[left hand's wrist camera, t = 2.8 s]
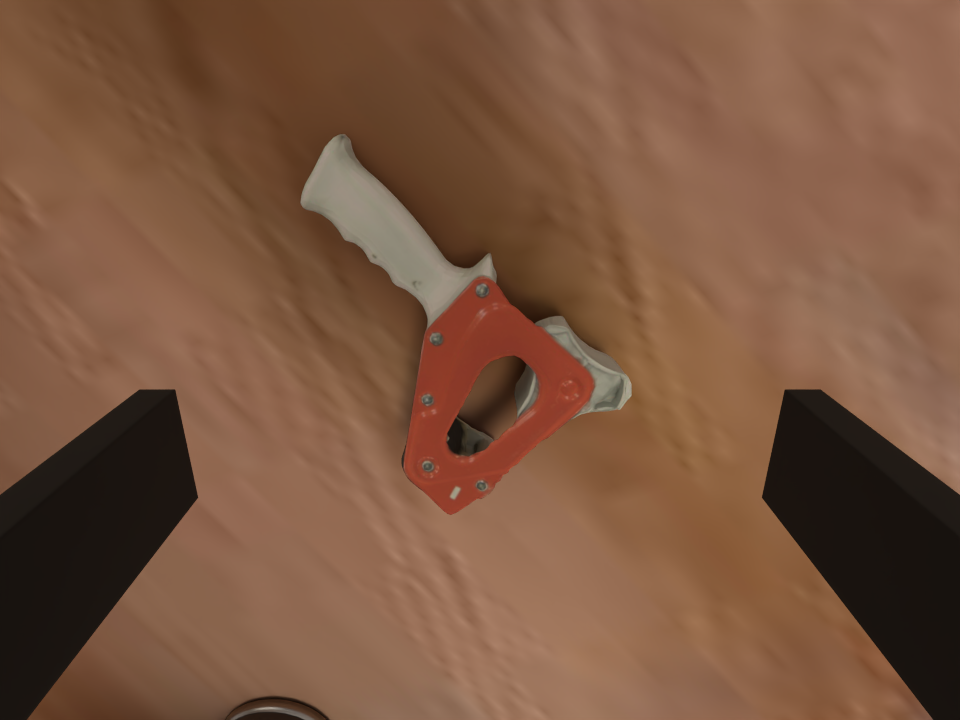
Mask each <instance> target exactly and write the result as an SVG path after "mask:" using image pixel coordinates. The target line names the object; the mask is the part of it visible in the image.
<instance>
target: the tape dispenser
mask: <svg viewBox="0 0 960 720" xmlns="http://www.w3.org/2000/svg"><path fill="white" fill-rule="evenodd" d="M301 205H302V207H303V208H304V209H306V210H311V211H314V212H316V213H319V214H322V215H323V216H324V217H326V218H327V219H328V220H330V221H331V222H332V223H333V224H334V225H335V227H336V228H337V229H338V230H339V232H340V233H341V235H342V237H343V238H344V239H345V241H349V242H353V243H355V244H356V245H358V246H359V247H360V248H362V250H363V251H364V252H365V253H366V255H367V257H368V259H369V261H370V262H371V263H374V264H376V265H379V266H381V267H382V268H384V270H385V271H386V272H387V273H388V274H389V276H390V278H391V280H392V282H393V283H394V284H395V285H396V286H398V287H401V288H403V289H405V290H407V291H408V292H409V293H411V294H412V295H413V296H415V297H416V298H417V299H418V300H419V302H420V303H421V304H422V305H423V307H424V310H425V312H426V314H427V319H428V323H427V330H426V332H425V334H424V339H423V345H422V351H421V357H420V363H419V370H418V376H417V383H416V389H415V395H414V400H413V408H412V415H411V422H410V427H409V432H408V437H407V443H406V446H405V449H404V452H403V456H402V467H403V470H404V472H405V474H406V476H407V478H408V479H409V480H410V481H411V482H412V483H413V484H415V485H416V486H417V487H418V488H419V489H421V490H422V491H424V492H425V493H426V494H427V495H428V496H429V497H430V498H431V499H432V500H433V501H434V502H435V503H436V504H437V505H438V506H439V507H440V508H441V509H442V510H443V511H445V512H446V513H447V514H450V515H451V514H454V513H456V512H458V511H460V510H461V509H463V508H464V507H466V506H467V505H469V504H470V503H472V502H473V501H474V500H476V499H477V498H478V499H482V498H484V497H486V496H488V495H489V494H490V493H491V491H492V490H493V489H494V487H495V484H496V483H497V482H499V481H500V480H501V478H502V476H503V475H504V474H506V473H508V471H509V469H510V468H512V467H513V466H514V465H516V464H518V463H519V461H520V460H521V459H522V458H523V457H524V456H525V455H526V454H527V453H528V452H529V451H530V450H532V449H533V448H534V447H536V445H537V444H538V443H539V442H541V441H542V440H544V439H546V438H548V437H549V436H551V435H552V434H553V433H554V432H555V431H557V430H558V429H559V428H560V427H561V426H563V425H564V424H566V423H567V422H568V421H570V420H571V419H573V418H575V417H577V416H579V415H580V414H585V413H589V412H597V411H612V410H616V409H619V410H620V409H621V408H622V406H623V405H624V404H625V402H626V401H627V400H628V399H629V398H630V397H631V382H630V380H629V378H628V376H627V375H626V374H625V373H624V372H623V371H622V369H621V368H620V366H619V365H618V364H617V363H616V361H615V360H614V359H613V358H612V357H610V356H609V355H607V354H605V353H603V352H600V351H597V350H595V349H593V348H592V347H590V346H588V345H587V344H586V343H584V342H583V341H582V340H580V339H579V338H578V337H577V335H576V334H575V333H574V332H573V331H572V329H571V328H570V327H569V325H568V324H567V322H566V320H565V319H564V317H562V316H554V317H548V318H545V319H543V320H540V321H538V322H536V323H533V322H532V321H531V320H529V319H528V318H526V317H525V316H524V315H523V314H522V313H521V312H520V311H519V310H518V309H517V308H516V307H514V306H513V305H511V304H510V303H509V301H508V300H507V298H506V297H505V295H504V294H503V292H502V291H501V289H500V288H499V287H498V285H497V284H496V278H497V274H496V271H495V269H494V267H493V263H492V257H491V253H488V254H487V255H486V256H485V257H484V258H483V259H482V260H481V261H480V262H479V263H477V264H476V265H475V266H473V267H471V268H461V267H457V266H454V265H452V264H451V263H450V262H449V261H447V260H446V259H445V257H444V256H443V255H442V253H441V252H440V250H439V249H438V248H437V246H436V245H435V244H434V242H433V241H432V240H431V238H430V237H429V236H428V234H427V233H426V232H425V230H424V229H423V228H422V227H421V225H420V224H419V223H418V222H417V221H416V219H415V218H414V217H413V216H412V215H411V214H410V212H409V211H408V210H407V209H406V208H405V207H404V206H403V205H402V203H401V202H400V201H399V200H398V199H397V198H396V197H395V196H394V195H393V194H392V193H391V192H390V191H389V190H388V189H387V188H386V187H385V186H384V185H383V184H382V183H381V182H380V181H379V180H378V179H376V178H375V177H374V176H373V175H372V174H371V173H370V172H368V171H367V170H366V169H365V168H364V167H363V166H362V165H361V164H360V162H359V161H358V160H357V158H356V157H355V154H354V152H353V149H352V145H351V141H350V139H349V138H348V137H347V136H346V135H345V134H340V135H337V136H335V137H334V138H333V139H332V140H331V141H330V142H329V143H328V144H327V145H326V146H325V148H324V150H323V152H322V153H321V155H320V157H319V159H318V161H317V164H316V166H315V168H314V169H313V171H312V173H311V175H310V176H309V178H308V180H307V182H306V184H305V186H304V189H303V192H302V196H301ZM513 355H515V356H517V357H519V358H521V359H522V360H523V361H524V362H525V363H526V364H527V365H526V367H525V370H524V372H523V374H522V376H521V377H520V379H519V380H518V382H517V383H516V386H515V392H514V395H515V401H516V406H517V419H516V421H515V423H514V425H513V426H512V427H510V428H509V429H508V430H506V431H505V432H504V433H503V434H502V435H501V437H500V438H499V439H498V440H495V441H494V440H493V439H492V438H491V437H489V436H488V435H486V434H485V433H483V432H479V431H477V430H476V429H474V428H471V427H470V426H469V425H468V424H466V423H465V422H463V421H462V420H460V419H459V418H458V417H457V415H458V413H459V411H460V408H461V407H462V406H463V404H464V401H465V399H466V397H467V396H468V394H469V393H470V391H471V389H472V386H473V384H474V382H475V380H476V379H477V377H478V375H479V374H480V372H481V371H482V369H483V368H484V367H485V366H486V365H487V364H488V363H489V362H491V361H493V360H496V359H499V358H502V357H505V356H513Z"/></svg>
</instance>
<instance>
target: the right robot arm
mask: <svg viewBox="0 0 960 720" xmlns="http://www.w3.org/2000/svg"><path fill="white" fill-rule="evenodd" d="M226 720H326V719H325V718H324V717H323V716H322V715H321V714H319V713H318V712H316V711H315V710H313V709H311V708H309V707H307V706H305V705H302V704H299V703H296V702H292V701H287V700H279V699H266V700H258V701H254V702H250V703H247V704H245V705H242V706H240V707H239V708H237V709H236V710H234V711H233V712H232V713H231V714H230V715H229V716H228V717H227V718H226Z"/></svg>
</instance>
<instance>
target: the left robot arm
mask: <svg viewBox="0 0 960 720" xmlns="http://www.w3.org/2000/svg"><path fill="white" fill-rule="evenodd" d="M197 498H198V495H197V490H196V486H195V481H194V476H193V472H192V467H191V462H190V457H189V453H188V448H187V443H186V439H185V434H184V429H183V424H182V420H181V415H180V410H179V406H178V401H177V396H176V391H175V390H138V391H137V392H136V393H134V394H133V395H132V396H130V397H129V398H128V399H126V400H125V401H124V402H122V403H121V404H120V405H118V406H117V407H116V408H115V409H113V410H112V411H111V412H109V413H108V414H107V415H105V416H104V417H103V418H101V419H100V420H99V421H97V422H96V423H95V424H93V425H92V426H91V427H89V428H88V429H87V430H85V431H84V432H83V433H81V434H80V435H79V436H78V437H76V438H75V439H74V440H72V441H71V442H70V443H68V444H67V445H66V446H64V447H63V448H62V449H60V450H59V451H58V452H56V453H55V454H54V455H52V456H51V457H50V458H48V459H47V460H46V461H44V462H43V463H42V464H40V465H39V466H38V467H37V468H35V469H34V470H33V471H31V472H30V473H29V474H27V475H26V476H25V477H23V478H22V479H21V480H19V481H18V482H17V483H15V484H14V485H13V486H11V487H10V488H9V489H7V490H6V491H5V492H3V493H2V494H1V495H0V720H27V719H28V717H29V716H30V715H31V713H32V712H33V711H34V710H35V708H36V707H37V706H38V704H39V703H40V702H41V700H42V699H43V698H44V697H45V695H46V694H47V693H48V691H49V690H50V689H51V688H52V686H53V685H54V684H55V682H56V681H57V680H58V678H59V677H60V676H61V675H62V673H63V672H64V671H65V669H66V668H67V667H68V665H69V664H70V663H71V662H72V660H73V659H74V658H75V656H76V655H77V654H78V653H79V651H80V650H81V649H82V647H83V646H84V645H85V643H86V642H87V641H88V640H89V638H90V637H91V636H92V634H93V633H94V632H95V630H96V629H97V628H98V627H99V625H100V624H101V623H102V621H103V620H104V619H105V618H106V616H107V615H108V614H109V612H110V611H111V610H112V608H113V607H114V606H115V605H116V603H117V602H118V601H119V599H120V598H121V597H122V595H123V594H124V593H125V592H126V590H127V589H128V588H129V586H130V585H131V584H132V583H133V581H134V580H135V579H136V577H137V576H138V575H139V573H140V572H141V571H142V570H143V568H144V567H145V566H146V564H147V563H148V562H149V560H150V559H151V558H152V557H153V555H154V554H155V553H156V551H157V550H158V549H159V548H160V546H161V545H162V544H163V542H164V541H165V540H166V538H167V537H168V536H169V535H170V533H171V532H172V531H173V529H174V528H175V527H176V525H177V524H178V523H179V522H180V520H181V519H182V518H183V516H184V515H185V514H186V513H187V511H188V510H189V509H190V507H191V506H192V505H193V503H194V502H195V501H196V500H197ZM762 498H763V500H764V501H765V502H766V503H767V505H768V506H769V507H770V509H771V510H772V511H773V513H774V514H775V515H776V516H777V518H778V519H779V520H780V522H781V523H782V524H783V525H784V527H785V528H786V529H787V531H788V532H789V533H790V535H791V536H792V537H793V538H794V540H795V541H796V542H797V544H798V545H799V546H800V548H801V549H802V550H803V551H804V553H805V554H806V555H807V557H808V558H809V559H810V560H811V562H812V563H813V564H814V566H815V567H816V568H817V570H818V571H819V572H820V573H821V575H822V576H823V577H824V579H825V580H826V581H827V583H828V584H829V585H830V586H831V588H832V589H833V590H834V592H835V593H836V594H837V595H838V597H839V598H840V599H841V601H842V602H843V603H844V605H845V606H846V607H847V608H848V610H849V611H850V612H851V614H852V615H853V616H854V618H855V619H856V620H857V621H858V623H859V624H860V625H861V627H862V628H863V629H864V630H865V632H866V633H867V634H868V636H869V637H870V638H871V640H872V641H873V642H874V643H875V645H876V646H877V647H878V649H879V650H880V651H881V653H882V654H883V655H884V656H885V658H886V659H887V660H888V662H889V663H890V664H891V665H892V667H893V668H894V669H895V671H896V672H897V673H898V675H899V676H900V677H901V678H902V680H903V681H904V682H905V684H906V685H907V686H908V688H909V689H910V690H911V691H912V693H913V694H914V695H915V697H916V698H917V699H918V700H919V702H920V703H921V704H922V706H923V707H924V708H925V710H926V711H927V712H928V713H929V715H930V716H931V717H932V719H933V720H960V495H959V494H958V493H957V492H955V491H954V490H953V489H951V488H950V487H949V486H947V485H946V484H945V483H943V482H942V481H941V480H939V479H938V478H937V477H935V476H934V475H933V474H931V473H930V472H929V471H927V470H926V469H925V468H923V467H922V466H921V465H920V464H918V463H917V462H916V461H914V460H913V459H912V458H910V457H909V456H908V455H906V454H905V453H904V452H902V451H901V450H900V449H898V448H897V447H896V446H894V445H893V444H892V443H890V442H889V441H888V440H886V439H885V438H884V437H882V436H881V435H880V434H879V433H877V432H876V431H875V430H873V429H872V428H871V427H869V426H868V425H867V424H865V423H864V422H863V421H861V420H860V419H859V418H857V417H856V416H855V415H853V414H852V413H851V412H849V411H848V410H847V409H845V408H844V407H843V406H842V405H840V404H839V403H838V402H836V401H835V400H834V399H832V398H831V397H830V396H828V395H827V394H826V393H824V392H823V391H822V390H785V391H784V396H783V401H782V406H781V410H780V415H779V420H778V424H777V429H776V434H775V439H774V443H773V448H772V453H771V457H770V462H769V467H768V472H767V476H766V481H765V486H764V490H763V495H762Z"/></svg>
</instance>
